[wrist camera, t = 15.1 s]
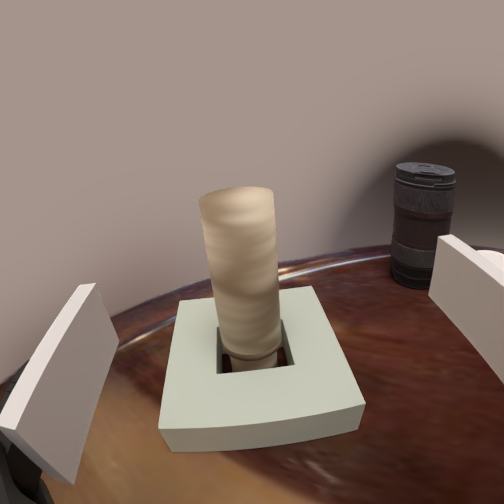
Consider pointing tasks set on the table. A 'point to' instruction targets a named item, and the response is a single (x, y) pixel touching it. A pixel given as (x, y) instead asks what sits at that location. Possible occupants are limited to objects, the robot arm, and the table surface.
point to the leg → (244, 273)
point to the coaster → (493, 257)
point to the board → (257, 383)
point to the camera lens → (420, 220)
